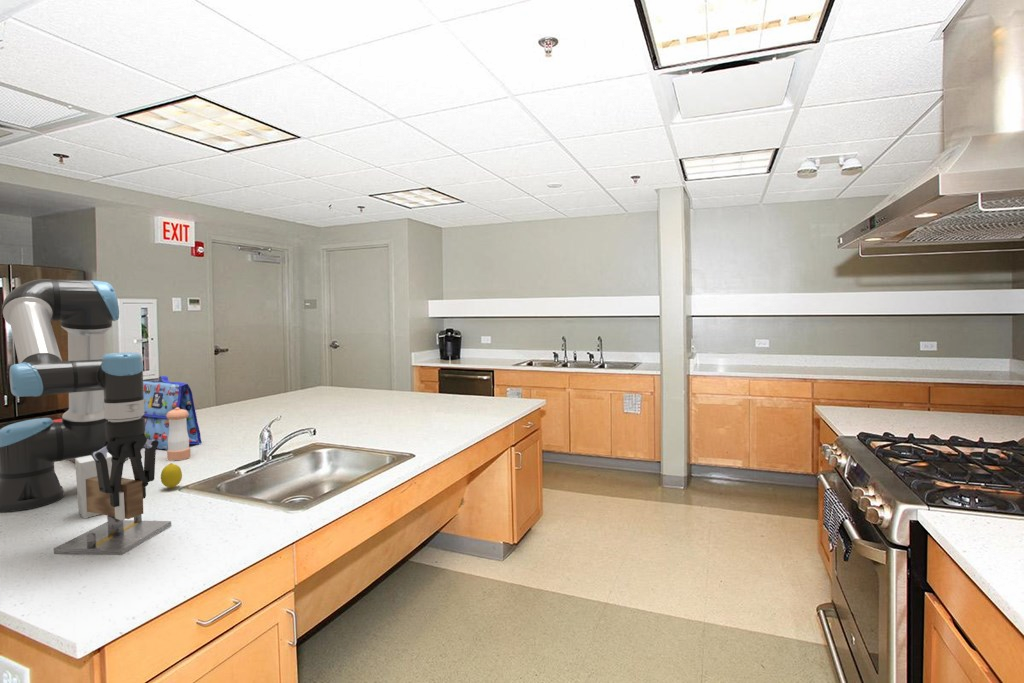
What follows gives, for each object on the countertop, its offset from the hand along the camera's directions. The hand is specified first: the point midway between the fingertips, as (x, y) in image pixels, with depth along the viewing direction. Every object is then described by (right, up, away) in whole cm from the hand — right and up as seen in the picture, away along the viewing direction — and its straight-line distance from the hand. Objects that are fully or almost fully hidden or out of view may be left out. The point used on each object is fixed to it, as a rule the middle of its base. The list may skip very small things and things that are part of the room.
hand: (129, 515), depth 123 cm
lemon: (-15, -4, +38) cm, 41 cm away
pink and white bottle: (-34, -2, +70) cm, 78 cm away
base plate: (-5, -6, +2) cm, 8 cm away
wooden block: (-5, 0, +2) cm, 5 cm away
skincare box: (-22, -6, +19) cm, 30 cm away
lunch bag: (-50, -1, +89) cm, 102 cm away
